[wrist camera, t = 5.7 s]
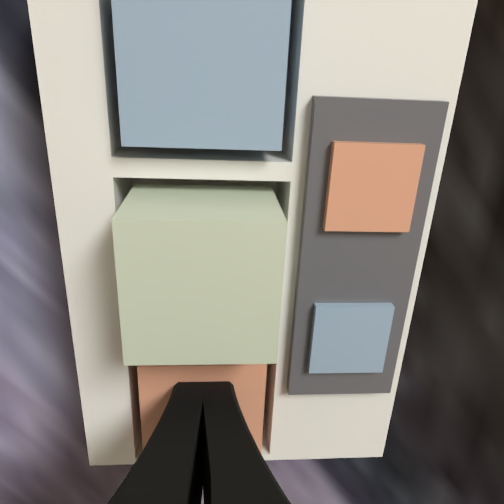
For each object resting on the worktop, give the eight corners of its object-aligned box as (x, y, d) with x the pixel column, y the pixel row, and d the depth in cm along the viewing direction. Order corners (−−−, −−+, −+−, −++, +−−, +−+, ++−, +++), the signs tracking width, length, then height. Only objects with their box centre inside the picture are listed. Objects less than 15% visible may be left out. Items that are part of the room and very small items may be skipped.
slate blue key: (141, 128, 11) (121, 146, 8) (133, -20, 9) (107, -44, 7) (268, 132, 11) (281, 151, 9) (275, -11, 10) (293, -33, 7)
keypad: (113, 389, 15) (84, 481, 11) (71, -42, 10) (3, -90, 7) (352, 385, 15) (388, 471, 12) (417, -20, 11) (504, -55, 7)
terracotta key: (155, 398, 14) (143, 463, 11) (150, 313, 12) (137, 367, 10) (253, 396, 14) (260, 460, 12) (258, 312, 13) (267, 365, 11)
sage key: (142, 304, 11) (123, 365, 9) (134, 183, 10) (111, 219, 8) (264, 304, 11) (276, 363, 9) (271, 186, 10) (287, 222, 8)
